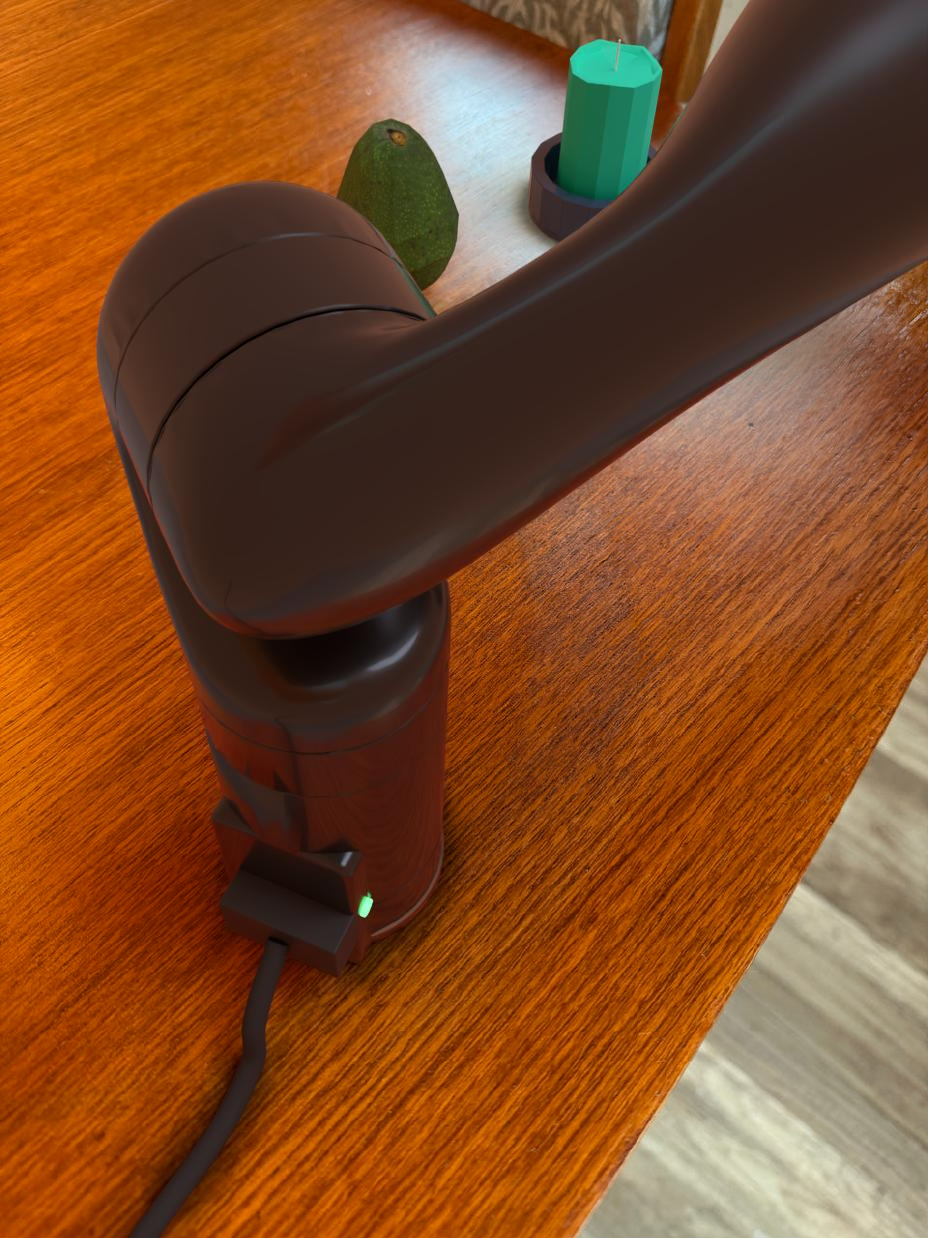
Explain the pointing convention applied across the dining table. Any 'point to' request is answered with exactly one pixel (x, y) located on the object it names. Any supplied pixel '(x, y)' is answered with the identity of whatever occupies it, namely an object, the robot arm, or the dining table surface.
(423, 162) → the avocado
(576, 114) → the candle
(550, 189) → the bowl
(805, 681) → the dining table surface
